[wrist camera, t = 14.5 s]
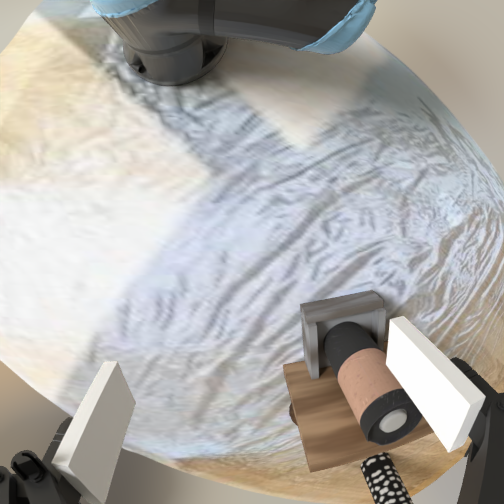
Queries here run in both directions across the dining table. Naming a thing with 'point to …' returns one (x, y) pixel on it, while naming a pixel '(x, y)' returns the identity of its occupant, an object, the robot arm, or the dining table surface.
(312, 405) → the l-shaped stand
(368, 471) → the white-spotted black cylinder
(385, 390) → the travel mug
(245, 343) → the dining table surface
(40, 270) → the dining table surface
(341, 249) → the dining table surface
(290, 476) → the dining table surface
